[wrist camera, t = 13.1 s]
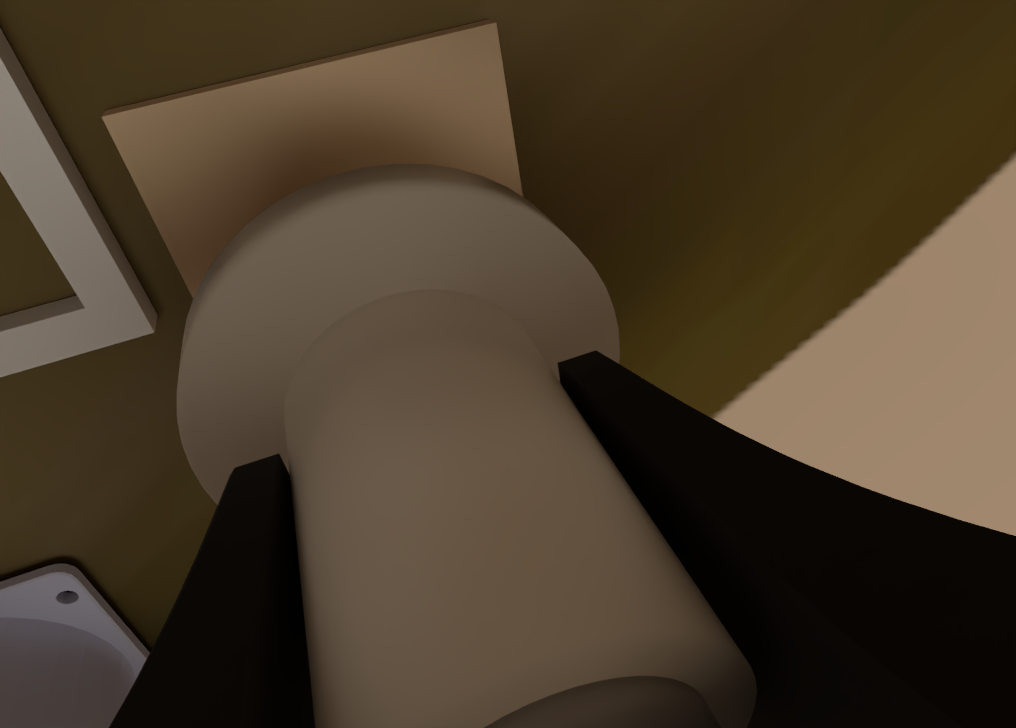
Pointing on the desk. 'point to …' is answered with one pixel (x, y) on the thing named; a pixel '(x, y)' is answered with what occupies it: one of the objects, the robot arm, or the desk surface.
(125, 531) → the desk surface
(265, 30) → the desk surface
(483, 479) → the plug
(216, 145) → the coaster
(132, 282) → the socket
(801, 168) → the desk surface
